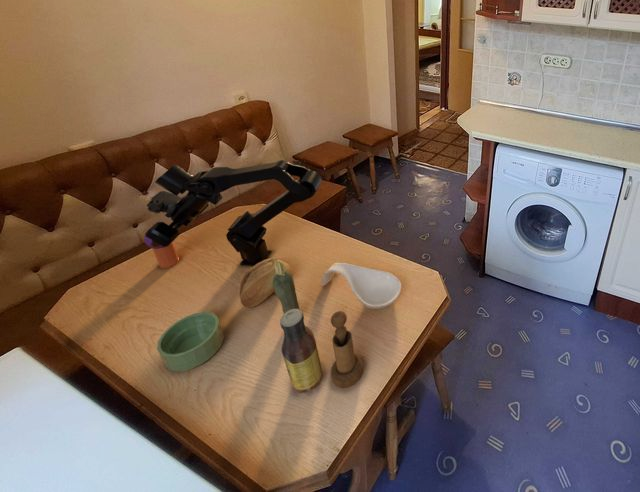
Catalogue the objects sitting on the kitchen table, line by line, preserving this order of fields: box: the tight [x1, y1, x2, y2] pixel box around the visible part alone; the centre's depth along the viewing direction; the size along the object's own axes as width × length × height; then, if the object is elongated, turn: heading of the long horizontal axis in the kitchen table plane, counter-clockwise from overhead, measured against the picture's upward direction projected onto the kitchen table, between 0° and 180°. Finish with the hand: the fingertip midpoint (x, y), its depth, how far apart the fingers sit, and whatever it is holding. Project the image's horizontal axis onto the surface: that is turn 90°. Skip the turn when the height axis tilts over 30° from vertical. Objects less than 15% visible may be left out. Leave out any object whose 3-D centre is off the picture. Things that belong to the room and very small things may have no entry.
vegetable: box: [271, 260, 300, 315], centre depth 86 cm, size 4×4×20 cm
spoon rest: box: [321, 262, 402, 310], centre depth 97 cm, size 24×12×7 cm, turn 71°
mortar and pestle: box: [330, 310, 364, 389], centre depth 75 cm, size 7×6×18 cm
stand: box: [151, 241, 180, 269], centre depth 106 cm, size 5×5×7 cm
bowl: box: [156, 311, 225, 373], centre depth 81 cm, size 11×11×6 cm
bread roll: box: [238, 258, 292, 309], centre depth 97 cm, size 10×15×8 cm, turn 164°
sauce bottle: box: [279, 308, 324, 394], centre depth 73 cm, size 7×6×20 cm
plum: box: [144, 235, 164, 249], centre depth 104 cm, size 6×6×6 cm
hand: (164, 235), depth 104 cm, fingers open, 9 cm apart
